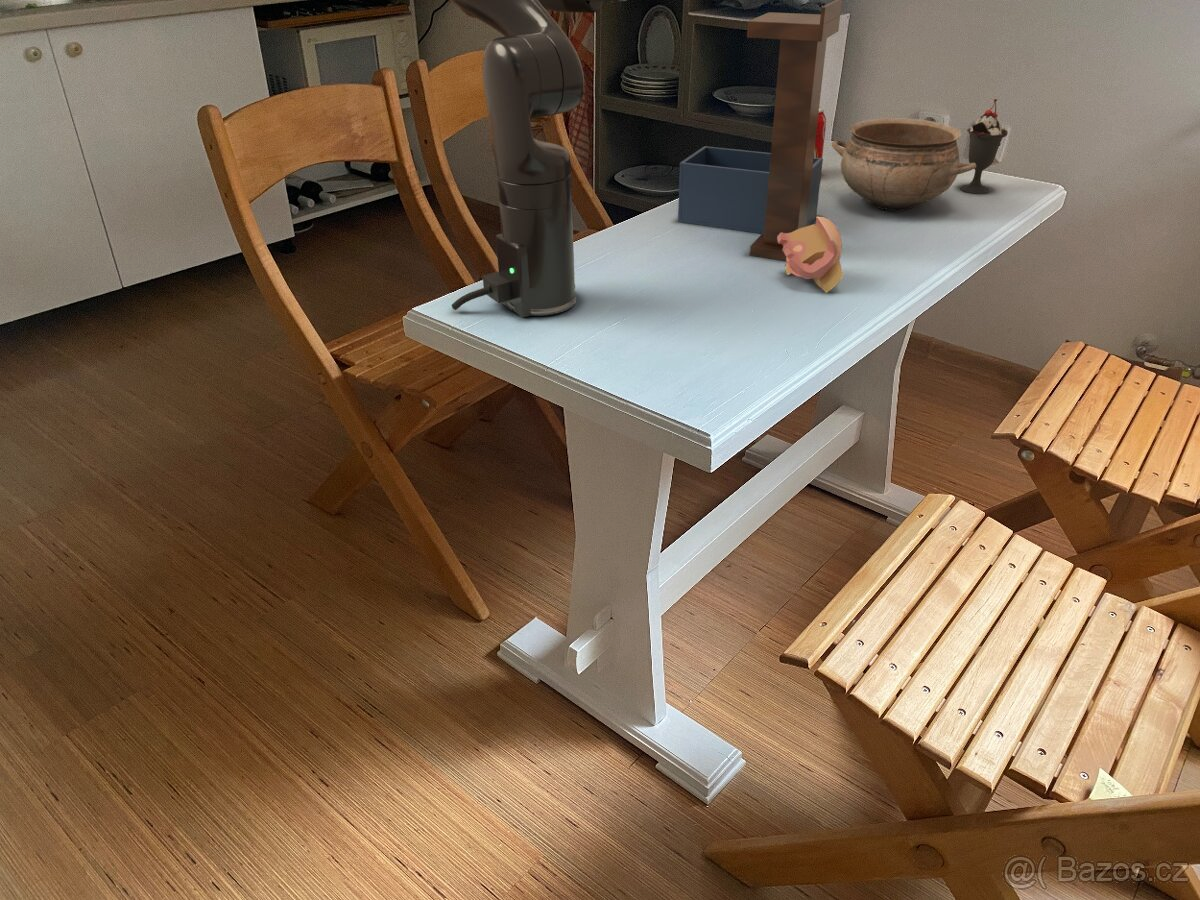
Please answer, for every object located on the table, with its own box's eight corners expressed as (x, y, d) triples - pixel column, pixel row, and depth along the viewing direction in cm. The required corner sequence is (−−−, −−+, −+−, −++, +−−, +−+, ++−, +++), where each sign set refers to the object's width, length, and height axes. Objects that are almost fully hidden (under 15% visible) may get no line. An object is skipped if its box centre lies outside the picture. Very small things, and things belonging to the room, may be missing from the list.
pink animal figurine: (791, 265, 132) (845, 223, 127) (820, 318, 127) (876, 277, 123) (759, 246, 125) (814, 201, 120) (788, 301, 121) (846, 257, 116)
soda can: (820, 181, 165) (828, 113, 158) (781, 179, 166) (787, 112, 159) (820, 170, 171) (827, 104, 164) (782, 169, 172) (788, 103, 165)
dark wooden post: (732, 254, 135) (749, 4, 116) (751, 235, 141) (769, -4, 123) (800, 264, 131) (829, 7, 112) (816, 244, 137) (846, -2, 119)
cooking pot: (800, 204, 154) (808, 131, 147) (852, 178, 166) (861, 109, 159) (940, 234, 140) (956, 155, 133) (986, 204, 152) (1002, 130, 145)
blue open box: (677, 221, 147) (679, 163, 142) (701, 202, 156) (704, 146, 150) (797, 238, 140) (804, 177, 134) (816, 217, 148) (823, 158, 143)
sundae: (985, 183, 162) (1004, 96, 154) (1000, 194, 156) (1021, 104, 148) (949, 184, 162) (966, 97, 154) (963, 195, 156) (981, 105, 148)
